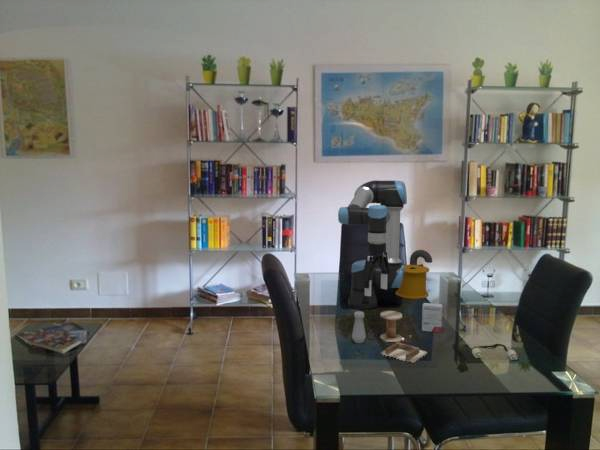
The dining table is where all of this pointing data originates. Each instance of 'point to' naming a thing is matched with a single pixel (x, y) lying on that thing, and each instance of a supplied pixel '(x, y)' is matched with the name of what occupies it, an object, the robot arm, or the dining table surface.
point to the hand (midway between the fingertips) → (376, 292)
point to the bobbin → (391, 326)
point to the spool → (413, 282)
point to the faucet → (418, 254)
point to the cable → (510, 353)
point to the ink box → (432, 317)
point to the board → (404, 352)
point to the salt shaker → (359, 328)
